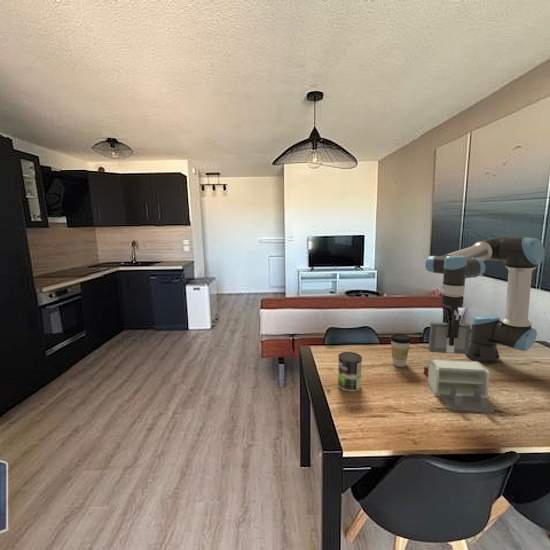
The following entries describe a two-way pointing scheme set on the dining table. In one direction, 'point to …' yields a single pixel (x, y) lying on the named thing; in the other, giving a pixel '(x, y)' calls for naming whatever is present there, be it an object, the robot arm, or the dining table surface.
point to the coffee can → (349, 371)
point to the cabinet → (460, 384)
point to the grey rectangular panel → (440, 340)
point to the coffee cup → (400, 348)
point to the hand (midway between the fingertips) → (448, 350)
